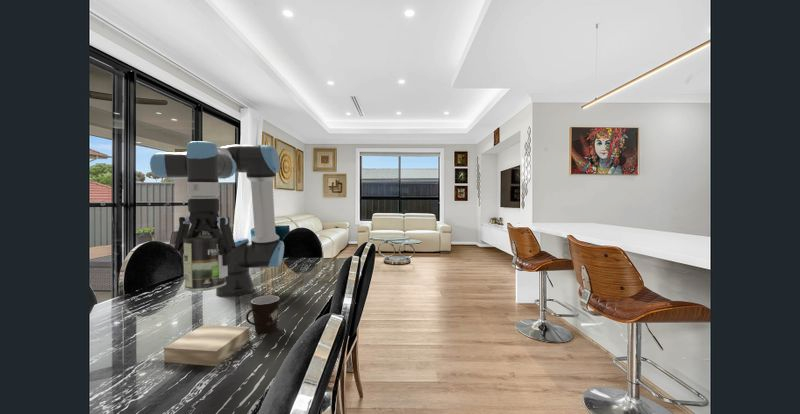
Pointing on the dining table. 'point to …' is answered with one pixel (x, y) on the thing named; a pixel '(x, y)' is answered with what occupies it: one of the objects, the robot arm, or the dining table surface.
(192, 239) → the coffee can
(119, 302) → the dining table surface
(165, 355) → the oak riser
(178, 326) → the dining table surface
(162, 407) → the dining table surface
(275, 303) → the coffee mug
